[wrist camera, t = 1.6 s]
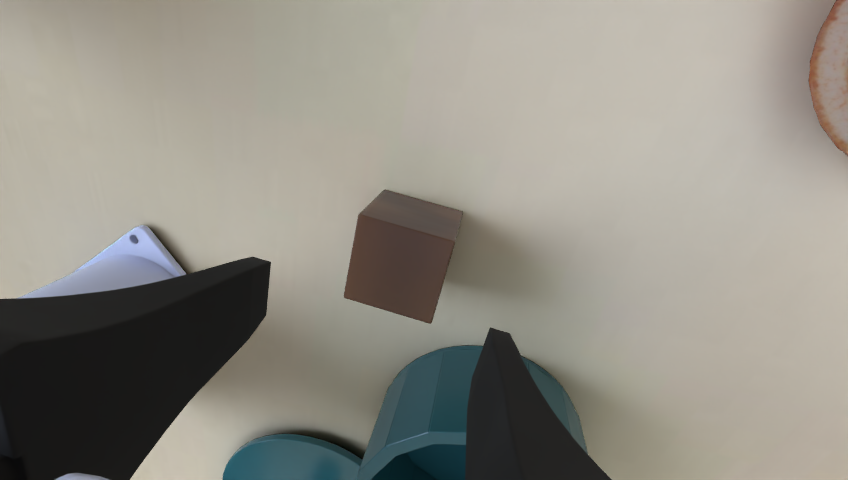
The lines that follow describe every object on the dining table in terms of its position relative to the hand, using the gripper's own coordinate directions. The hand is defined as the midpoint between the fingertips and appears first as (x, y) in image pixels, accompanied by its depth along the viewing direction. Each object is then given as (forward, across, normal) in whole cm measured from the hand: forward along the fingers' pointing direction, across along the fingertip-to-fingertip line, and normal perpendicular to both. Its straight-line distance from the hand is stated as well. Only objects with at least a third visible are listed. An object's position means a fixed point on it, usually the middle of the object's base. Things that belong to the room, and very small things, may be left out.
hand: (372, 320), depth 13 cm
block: (+8, 0, 0) cm, 8 cm away
